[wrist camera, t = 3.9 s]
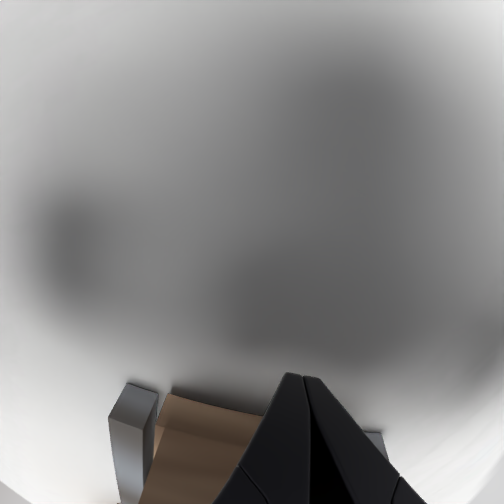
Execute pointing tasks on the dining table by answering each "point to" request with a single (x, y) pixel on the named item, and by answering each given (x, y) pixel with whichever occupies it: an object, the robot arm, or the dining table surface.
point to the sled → (195, 451)
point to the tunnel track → (145, 440)
